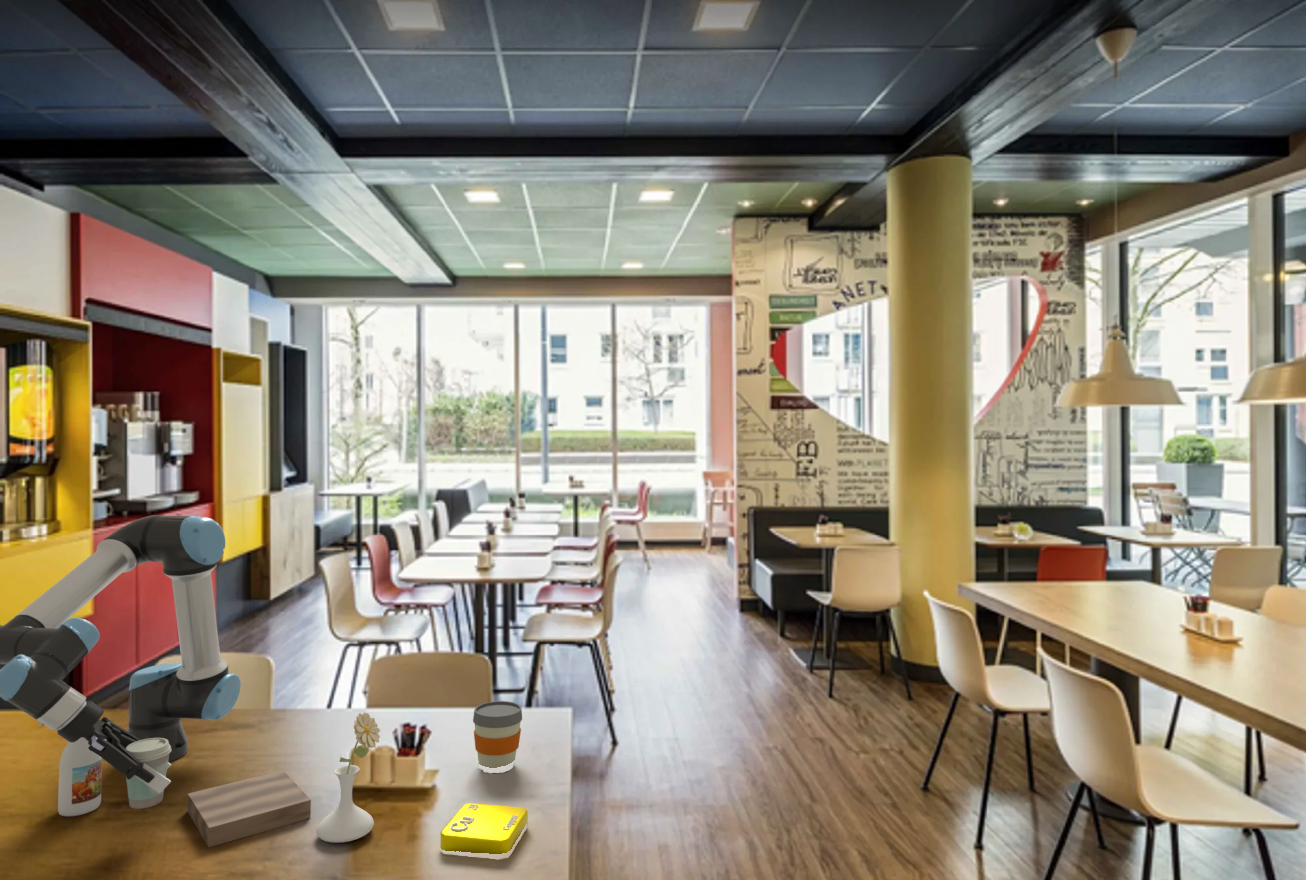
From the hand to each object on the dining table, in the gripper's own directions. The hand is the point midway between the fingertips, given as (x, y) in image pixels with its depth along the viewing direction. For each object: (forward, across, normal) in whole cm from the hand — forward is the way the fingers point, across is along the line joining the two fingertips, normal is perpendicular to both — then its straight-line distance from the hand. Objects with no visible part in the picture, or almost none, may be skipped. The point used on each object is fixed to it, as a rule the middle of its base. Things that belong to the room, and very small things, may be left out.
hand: (165, 778), depth 163 cm
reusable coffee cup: (+61, 0, +43) cm, 74 cm away
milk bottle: (-3, -22, -20) cm, 30 cm away
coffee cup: (+1, 0, -6) cm, 6 cm away
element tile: (+50, +34, +32) cm, 68 cm away
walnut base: (+20, -1, +3) cm, 20 cm away
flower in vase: (+32, +18, +15) cm, 40 cm away
